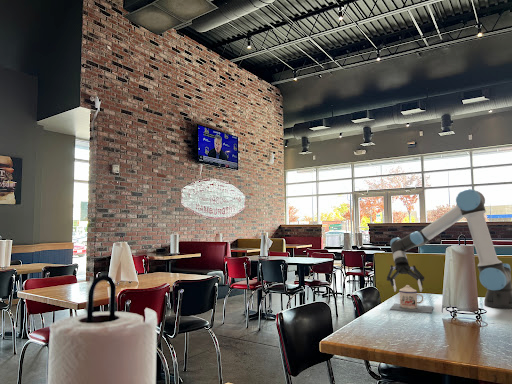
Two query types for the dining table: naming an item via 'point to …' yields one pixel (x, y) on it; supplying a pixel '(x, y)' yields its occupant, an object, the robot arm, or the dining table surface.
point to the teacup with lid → (409, 297)
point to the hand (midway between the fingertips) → (408, 290)
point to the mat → (419, 309)
